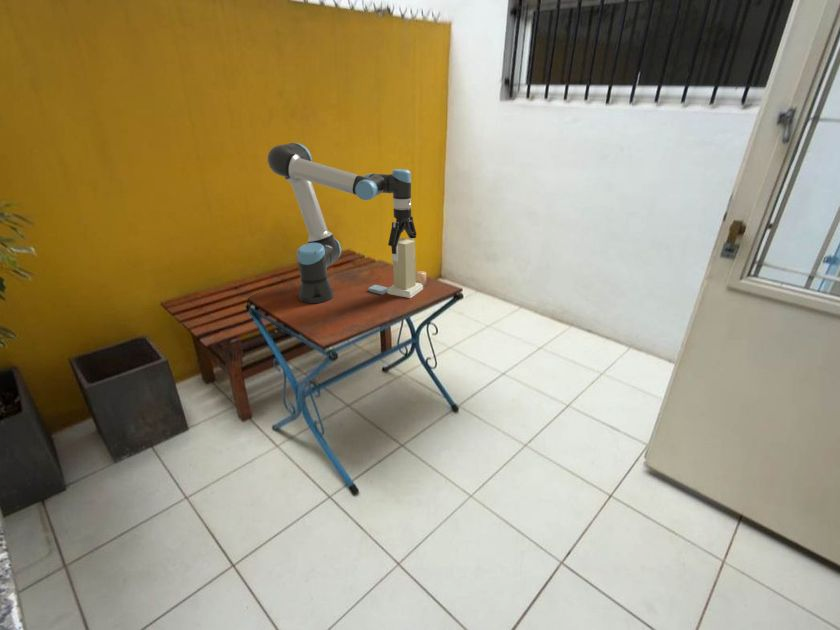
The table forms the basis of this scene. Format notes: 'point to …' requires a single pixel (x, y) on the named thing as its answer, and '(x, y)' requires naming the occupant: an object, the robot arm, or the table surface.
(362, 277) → the table surface
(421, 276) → the peach egg shape
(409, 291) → the podium
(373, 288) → the book
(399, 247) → the tall cream block
